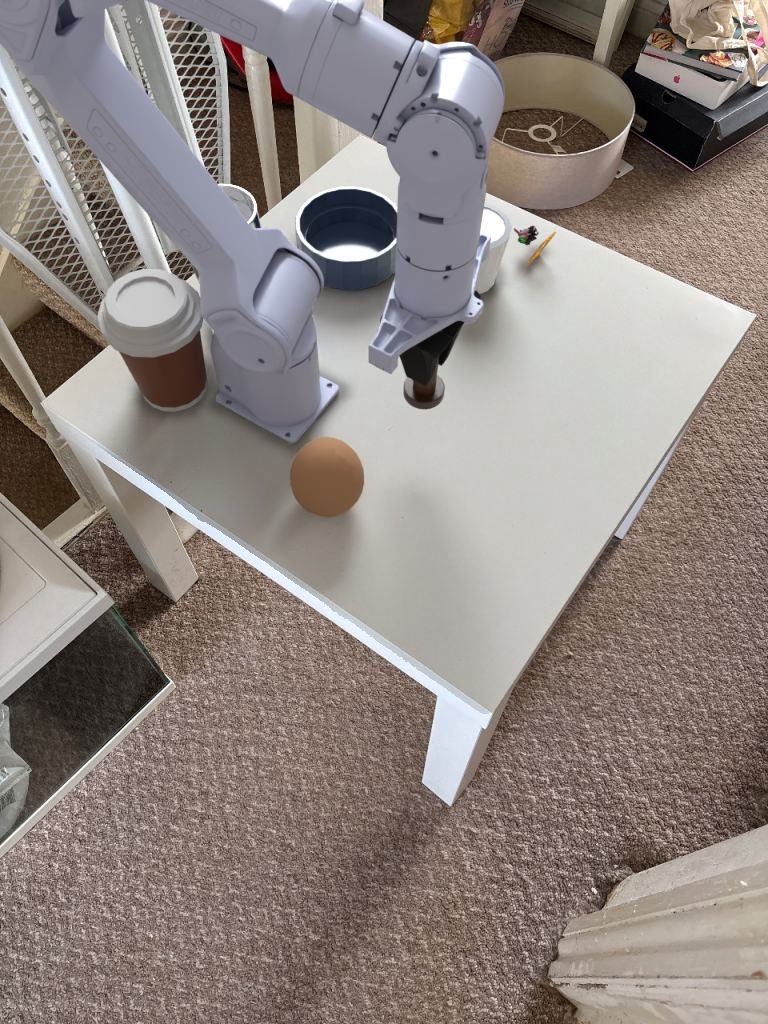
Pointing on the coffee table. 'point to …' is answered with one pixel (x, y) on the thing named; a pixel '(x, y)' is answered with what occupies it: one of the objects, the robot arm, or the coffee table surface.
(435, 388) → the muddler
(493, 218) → the white cylinder
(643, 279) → the coffee table surface
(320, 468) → the egg
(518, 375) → the coffee table surface
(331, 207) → the bowl
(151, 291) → the coffee cup
